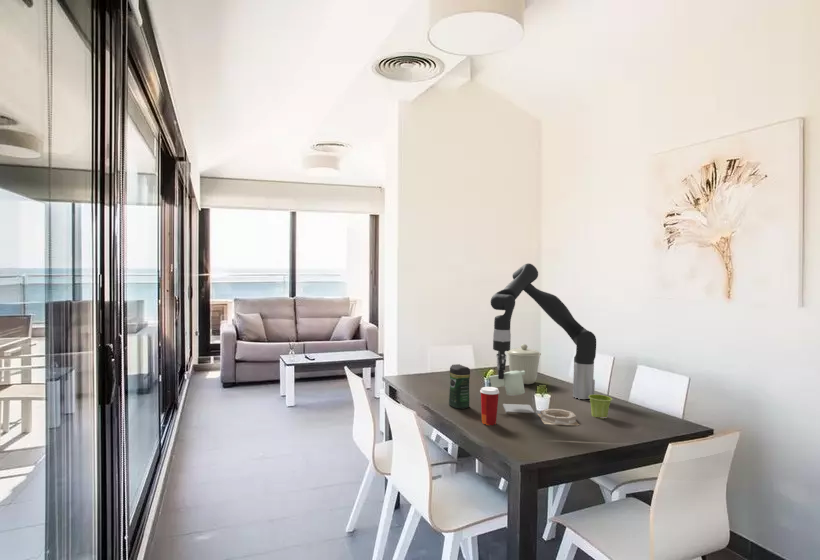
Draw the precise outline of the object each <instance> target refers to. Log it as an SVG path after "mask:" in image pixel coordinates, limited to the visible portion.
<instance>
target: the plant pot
mask: <svg viewBox="0 0 820 560" xmlns="http://www.w3.org/2000/svg"><path fill="white" fill-rule="evenodd" d="M588 397H589V399H590V400H589V402H590V410H591V411H590V413H591V414H590V415H591V417H593V416H594V417H593V418H596V417H607V418H608V415H609V409H610V405H611V402H612V401H613V398H612V397H610V396H608V395H603V394H594V395H589V396H588Z"/></svg>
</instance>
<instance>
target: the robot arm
mask: <svg viewBox="0 0 820 560" xmlns="http://www.w3.org/2000/svg"><path fill="white" fill-rule="evenodd" d="M538 278H539V271H538V269H537V267H536V266H535V265H534V264H532V263H525V264H523V265H522V266H521V267H519V268H518V269H517V270H515V271H514V272H513V273H512V279H513V280H512V281H510V282H509V283H507V285H506V286H505V287H504V289H501V290H498V291H497V292H496V293H494V294H493V295H492V296H491V299H490V306H491V307H492V309H493V310H496V311H504V313H502V314H500V315H496V316H495V317H494V323H493V324H494V325H493V327H494V329H493V337H492V339H493V340H492V350H493V351H496V352H497V353H496V356H495V357H496V367H497V375H498V378H499V379H504V373H505V371H506V363H507V354H506V352H507V351H510V350H511V340H512V339H511V338H512V336H511V335H512V334H511V321H512V317H513V312H514V309H515V306H516V300H517V299H518V297H519V296H520V295H521V293H523V292H525V294H527V295H528V296H529V297H530V298H531V299H533V301H534V302H536V304H538V306H539V307H540V308H541V309H542V310H543V312H545V314H546V315H547V316H548V317H550V319H552V320H553V321H554V322H555V323H556V324H557V325H558V326H559V327H560V328H562V329H563V330H564V332H565V333H566V334H567V335H568V336H569V338H570V339H571V341H572V342H573V343H574V344H575V345H576V350H575V355H574V357H573V358H574V359H573V383H572V384H573V385H572V397H573V398H574V397H575V398H574V399H576V398H578V399H577V400H580V399H589V397H588V396H589V395H595V389H596V388H595V386H596V385H595V384H596V381H595V378H594V377H595V376H594V372H595V371H594V370H595V359H596V354H597V337H596V335H595V334H594V333H593V332H592V331H590V330H588V329H586V328H585V327H584V326H582V325H581V324H580V323H579V322H578V321H577V320H576V319H575V317H574V316H573V315H572V313H571V312H570V310H569V308H568V307H567V306H566V304H565V303H564V302H562V300H561V299H560V298H559V297H558V296H556V295H554V294H552V293H549V292H546V291H543V290H541V289H538V288H537V287H535V285H533V284H532V283H534V282H535V281H536V280H537V279H538Z"/></svg>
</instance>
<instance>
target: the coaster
mask: <svg viewBox="0 0 820 560" xmlns="http://www.w3.org/2000/svg"><path fill="white" fill-rule="evenodd" d="M502 407H503V409H504V411H505V413H506V414H508V413H520V414H522V413H524V414H528V413H529V414H535V413H536V412H535V411H534V409H533V408H532V406H531V405H530V404H521V403H520V404H517V403H516V404H515V403H502Z"/></svg>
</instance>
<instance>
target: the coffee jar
mask: <svg viewBox="0 0 820 560" xmlns="http://www.w3.org/2000/svg"><path fill="white" fill-rule="evenodd" d="M470 377H471V369H470V368H469V367H467V366H464V365H462V364H460V363H459V364H458V363H457V364H452V365H450V367H449V395H448V397H449V398H448V404H449V406H451V408H452V407H453V408H455V409H461V410H463V409H467V408H469V407H470Z"/></svg>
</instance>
